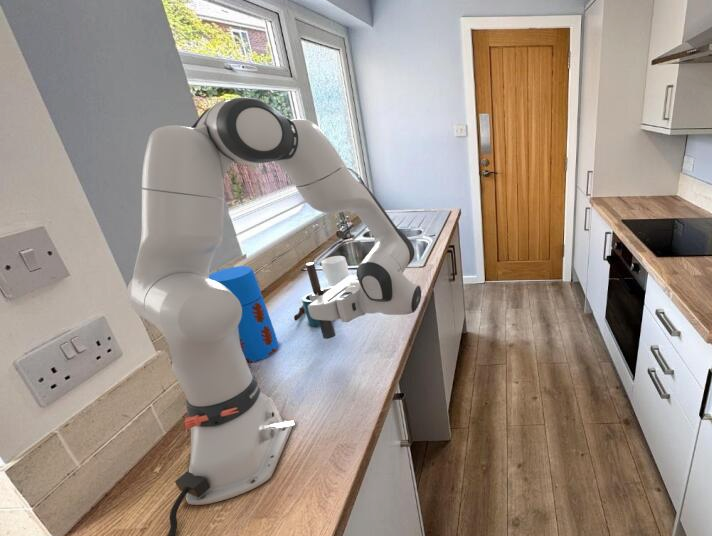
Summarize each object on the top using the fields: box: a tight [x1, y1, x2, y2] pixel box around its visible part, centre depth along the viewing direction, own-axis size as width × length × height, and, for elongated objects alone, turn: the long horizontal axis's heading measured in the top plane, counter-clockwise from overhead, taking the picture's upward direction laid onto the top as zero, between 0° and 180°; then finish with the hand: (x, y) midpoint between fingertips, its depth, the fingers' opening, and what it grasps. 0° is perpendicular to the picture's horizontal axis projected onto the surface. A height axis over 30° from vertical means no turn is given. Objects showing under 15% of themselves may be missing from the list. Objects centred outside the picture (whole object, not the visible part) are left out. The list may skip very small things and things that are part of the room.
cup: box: [320, 255, 349, 287], centre depth 155 cm, size 9×9×12 cm
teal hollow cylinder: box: [301, 292, 320, 327], centre depth 133 cm, size 8×8×9 cm
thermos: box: [209, 265, 279, 363], centre depth 114 cm, size 11×11×25 cm
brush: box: [305, 262, 337, 340], centre depth 110 cm, size 3×3×22 cm
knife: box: [293, 304, 306, 322], centre depth 140 cm, size 18×2×3 cm, turn 11°
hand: (315, 294), depth 109 cm, fingers closed on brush, 2 cm apart
